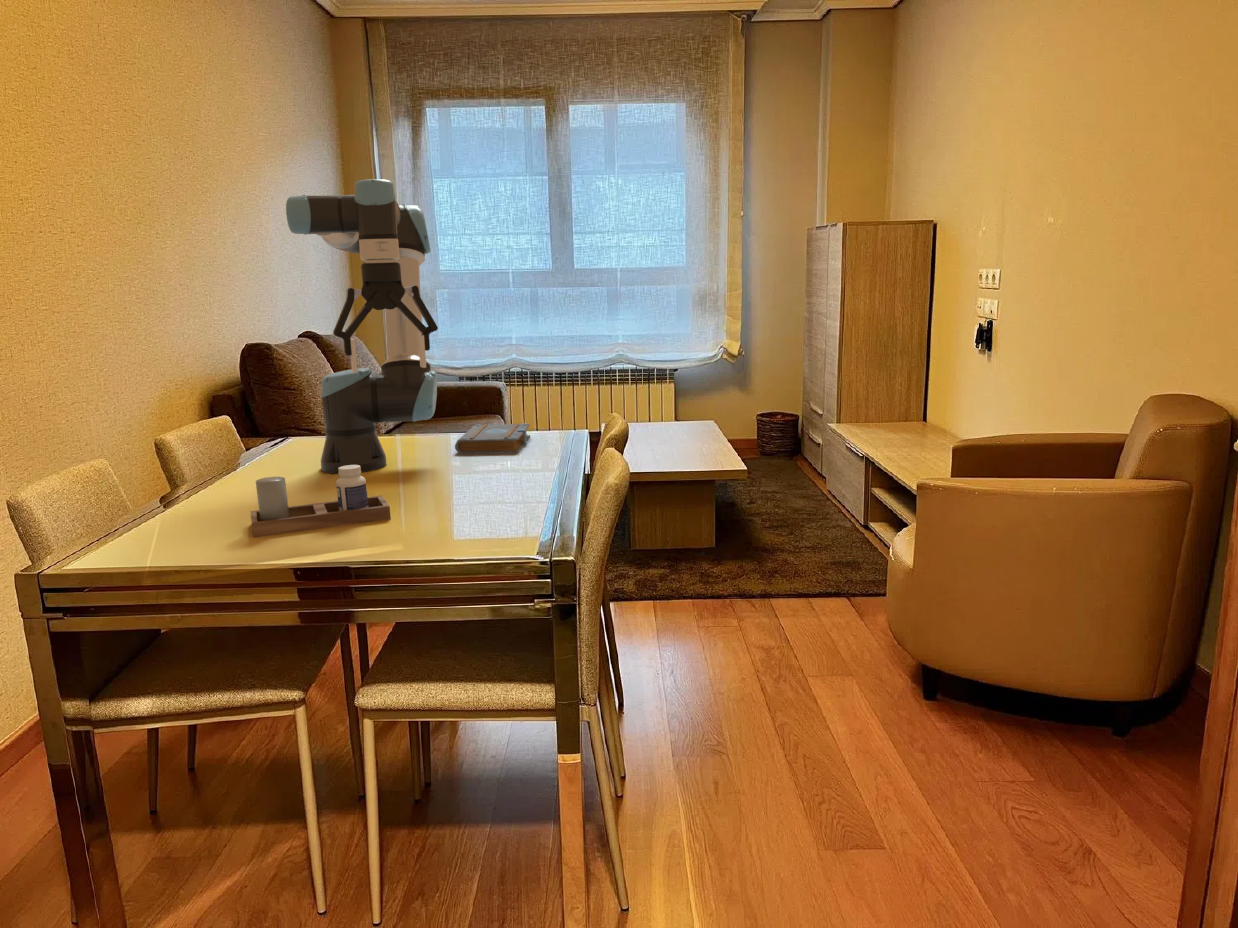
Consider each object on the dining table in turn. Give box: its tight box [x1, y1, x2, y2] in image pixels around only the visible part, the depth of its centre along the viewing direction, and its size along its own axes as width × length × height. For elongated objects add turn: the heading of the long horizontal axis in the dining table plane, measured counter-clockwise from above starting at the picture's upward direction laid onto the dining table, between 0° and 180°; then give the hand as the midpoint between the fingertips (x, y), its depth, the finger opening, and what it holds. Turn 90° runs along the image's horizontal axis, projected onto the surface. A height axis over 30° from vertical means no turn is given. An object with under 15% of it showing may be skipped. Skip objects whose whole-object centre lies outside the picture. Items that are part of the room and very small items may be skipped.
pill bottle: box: [335, 465, 369, 511], centre depth 172 cm, size 5×5×10 cm
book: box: [454, 422, 531, 455], centre depth 242 cm, size 21×16×5 cm
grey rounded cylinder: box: [255, 476, 289, 521], centre depth 167 cm, size 5×5×9 cm
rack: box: [250, 495, 392, 538], centre depth 171 cm, size 9×24×4 cm, turn 113°
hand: (389, 369), depth 185 cm, fingers open, 13 cm apart
